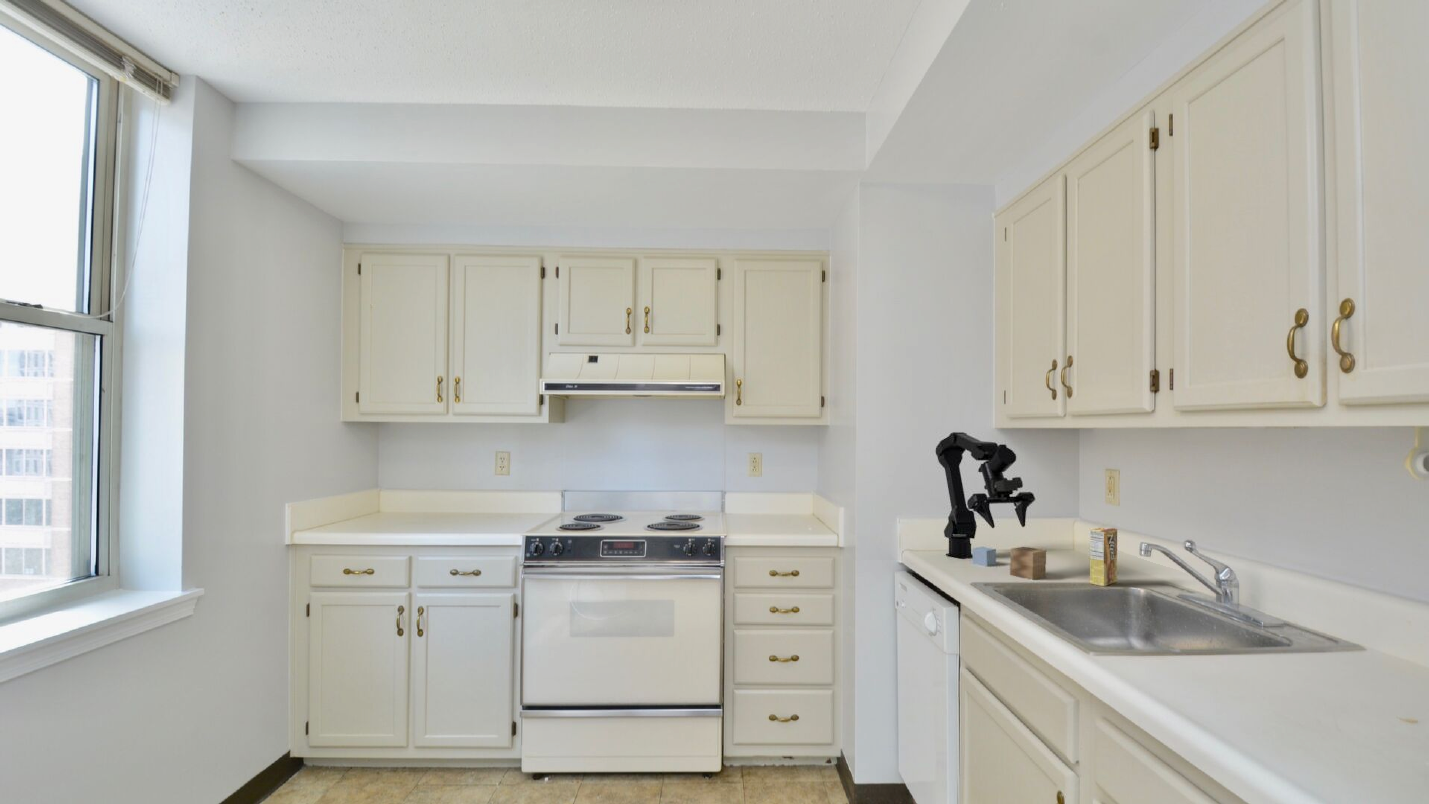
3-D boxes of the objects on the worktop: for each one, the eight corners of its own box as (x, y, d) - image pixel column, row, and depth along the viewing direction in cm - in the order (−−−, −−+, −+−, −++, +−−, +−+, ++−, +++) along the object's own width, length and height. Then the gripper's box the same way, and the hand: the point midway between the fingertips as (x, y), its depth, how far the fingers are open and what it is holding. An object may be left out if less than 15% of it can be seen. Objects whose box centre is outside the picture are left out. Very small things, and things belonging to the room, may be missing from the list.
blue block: (972, 563, 221) (972, 548, 221) (981, 562, 224) (981, 546, 224) (986, 566, 217) (986, 550, 217) (995, 564, 220) (995, 549, 220)
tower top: (1010, 562, 205) (1010, 548, 205) (1023, 559, 209) (1023, 546, 209) (1032, 566, 199) (1033, 552, 199) (1046, 564, 203) (1046, 550, 203)
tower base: (1010, 575, 205) (1010, 562, 205) (1023, 572, 209) (1023, 559, 209) (1032, 580, 199) (1032, 566, 199) (1045, 577, 203) (1045, 563, 203)
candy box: (1102, 579, 201) (1102, 526, 201) (1118, 582, 197) (1117, 528, 198) (1089, 583, 195) (1088, 529, 195) (1105, 586, 192) (1105, 531, 192)
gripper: (974, 468, 203) (988, 517, 195) (1035, 466, 205) (1052, 515, 196) (961, 484, 213) (974, 532, 204) (1019, 482, 214) (1034, 530, 206)
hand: (1008, 527), depth 202 cm, fingers open, 9 cm apart
